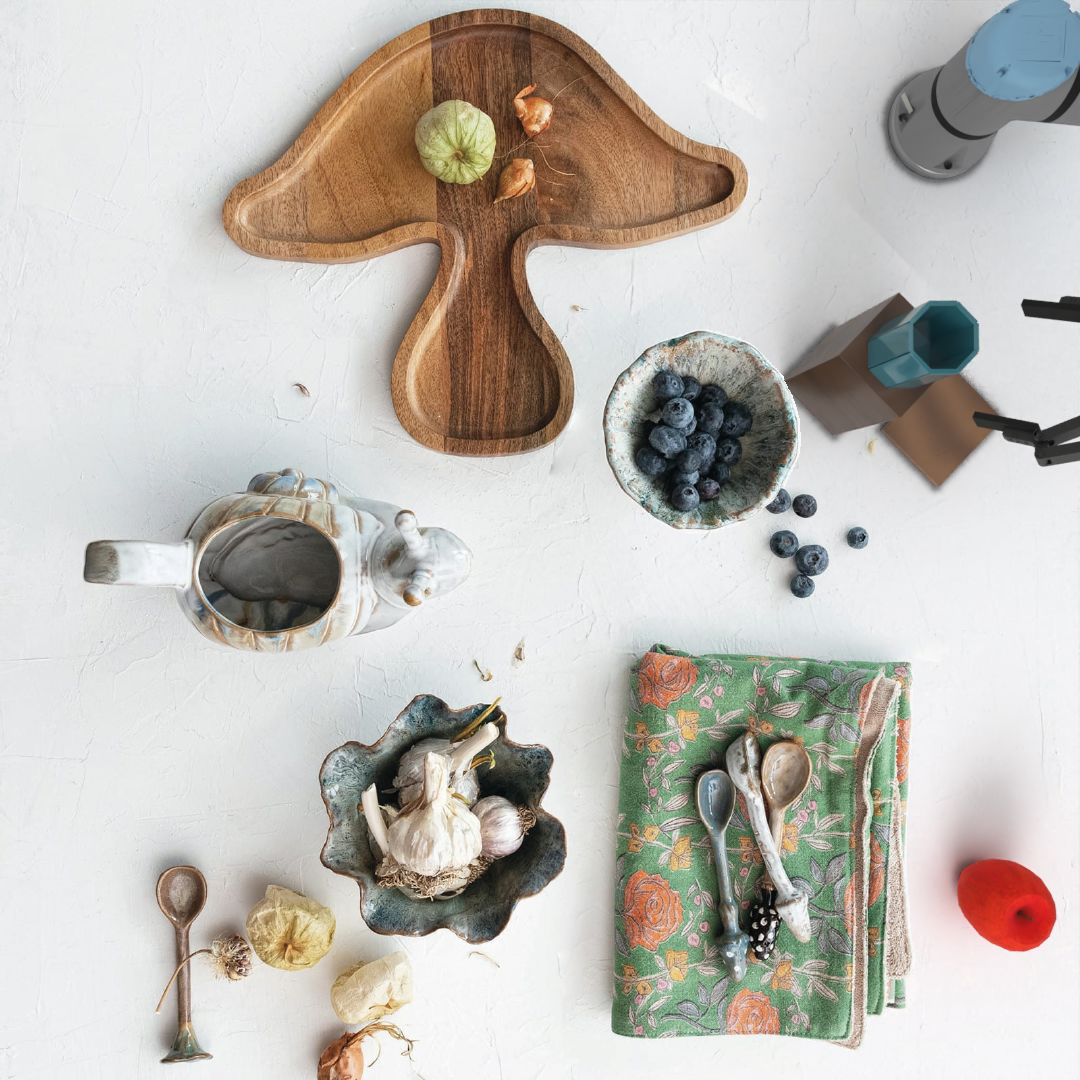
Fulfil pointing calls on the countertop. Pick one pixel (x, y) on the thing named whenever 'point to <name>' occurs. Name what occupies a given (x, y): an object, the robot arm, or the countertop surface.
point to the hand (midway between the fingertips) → (999, 363)
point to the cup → (924, 345)
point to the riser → (851, 375)
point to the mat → (940, 428)
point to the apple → (1006, 904)
